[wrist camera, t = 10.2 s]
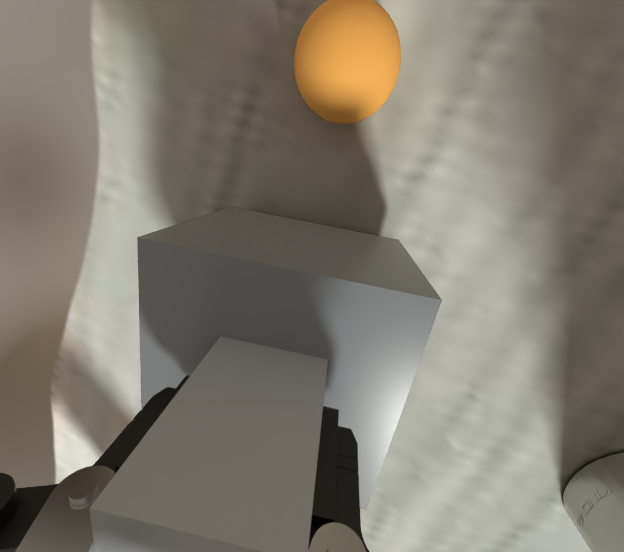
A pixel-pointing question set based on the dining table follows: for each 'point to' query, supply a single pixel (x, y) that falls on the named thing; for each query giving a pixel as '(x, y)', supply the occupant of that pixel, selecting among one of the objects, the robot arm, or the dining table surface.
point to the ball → (347, 59)
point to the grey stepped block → (260, 377)
